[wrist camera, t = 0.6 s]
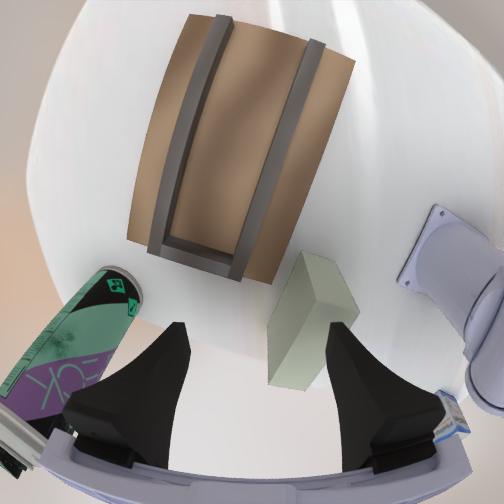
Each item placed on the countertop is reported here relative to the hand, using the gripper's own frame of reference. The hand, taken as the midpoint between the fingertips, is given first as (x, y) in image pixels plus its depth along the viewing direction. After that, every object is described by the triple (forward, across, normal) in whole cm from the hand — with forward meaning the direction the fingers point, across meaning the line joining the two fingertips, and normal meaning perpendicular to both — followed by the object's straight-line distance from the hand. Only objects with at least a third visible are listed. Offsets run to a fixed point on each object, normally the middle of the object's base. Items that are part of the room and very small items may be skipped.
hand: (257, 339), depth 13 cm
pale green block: (+10, -3, +4) cm, 11 cm away
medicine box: (+10, -29, +27) cm, 41 cm away
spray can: (+10, +14, +3) cm, 17 cm away
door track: (+10, +2, -9) cm, 13 cm away
